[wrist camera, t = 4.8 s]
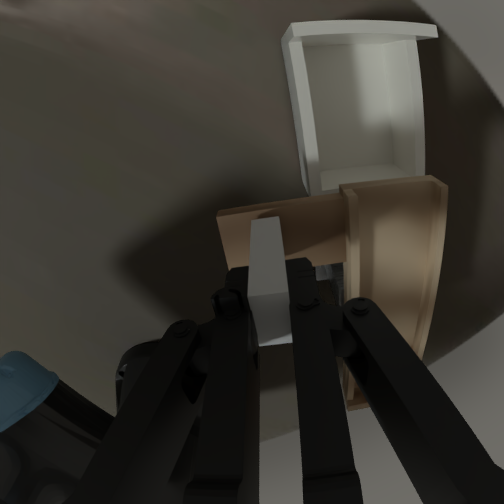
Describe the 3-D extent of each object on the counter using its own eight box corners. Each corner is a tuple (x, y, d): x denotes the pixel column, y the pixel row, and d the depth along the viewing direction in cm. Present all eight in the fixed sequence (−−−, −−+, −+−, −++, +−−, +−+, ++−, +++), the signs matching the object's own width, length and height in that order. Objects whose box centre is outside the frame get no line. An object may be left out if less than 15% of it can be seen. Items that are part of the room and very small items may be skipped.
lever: (399, 357, 27) (414, 396, 23) (263, 379, 29) (264, 422, 24) (417, 166, 19) (453, 189, 15) (220, 191, 20) (209, 221, 16)
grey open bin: (302, 180, 26) (319, 221, 19) (280, 40, 20) (291, 23, 13) (399, 169, 25) (443, 205, 18) (387, 35, 20) (436, 25, 13)
